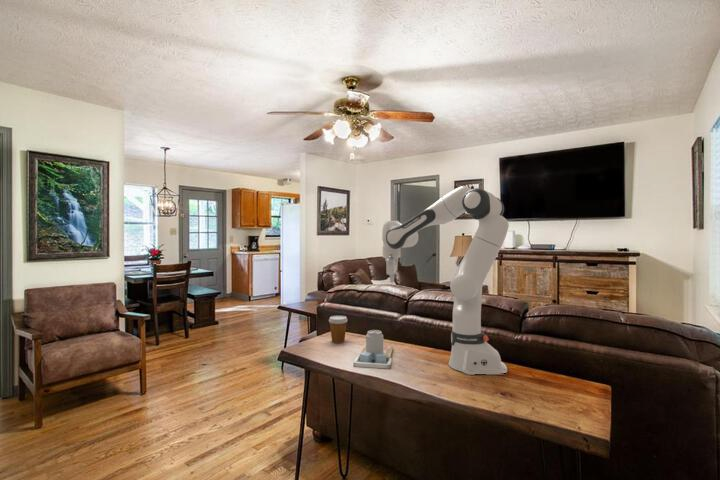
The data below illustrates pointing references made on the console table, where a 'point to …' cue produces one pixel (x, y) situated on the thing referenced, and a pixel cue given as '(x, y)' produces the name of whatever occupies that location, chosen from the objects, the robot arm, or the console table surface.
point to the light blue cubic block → (366, 357)
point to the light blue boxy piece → (380, 358)
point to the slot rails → (388, 354)
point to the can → (374, 342)
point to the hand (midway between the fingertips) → (392, 282)
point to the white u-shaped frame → (372, 364)
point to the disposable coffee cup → (338, 328)
